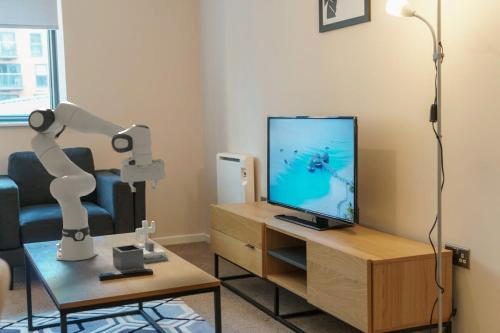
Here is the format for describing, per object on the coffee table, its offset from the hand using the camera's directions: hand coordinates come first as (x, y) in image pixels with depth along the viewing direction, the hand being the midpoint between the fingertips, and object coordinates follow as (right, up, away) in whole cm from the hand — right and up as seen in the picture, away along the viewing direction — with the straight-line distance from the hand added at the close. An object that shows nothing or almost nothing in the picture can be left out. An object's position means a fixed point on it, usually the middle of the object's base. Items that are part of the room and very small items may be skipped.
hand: (143, 190), depth 302 cm
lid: (+3, -30, +2) cm, 30 cm away
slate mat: (+3, -31, +2) cm, 31 cm away
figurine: (-1, -30, +16) cm, 34 cm away
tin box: (-5, -32, -12) cm, 35 cm away
